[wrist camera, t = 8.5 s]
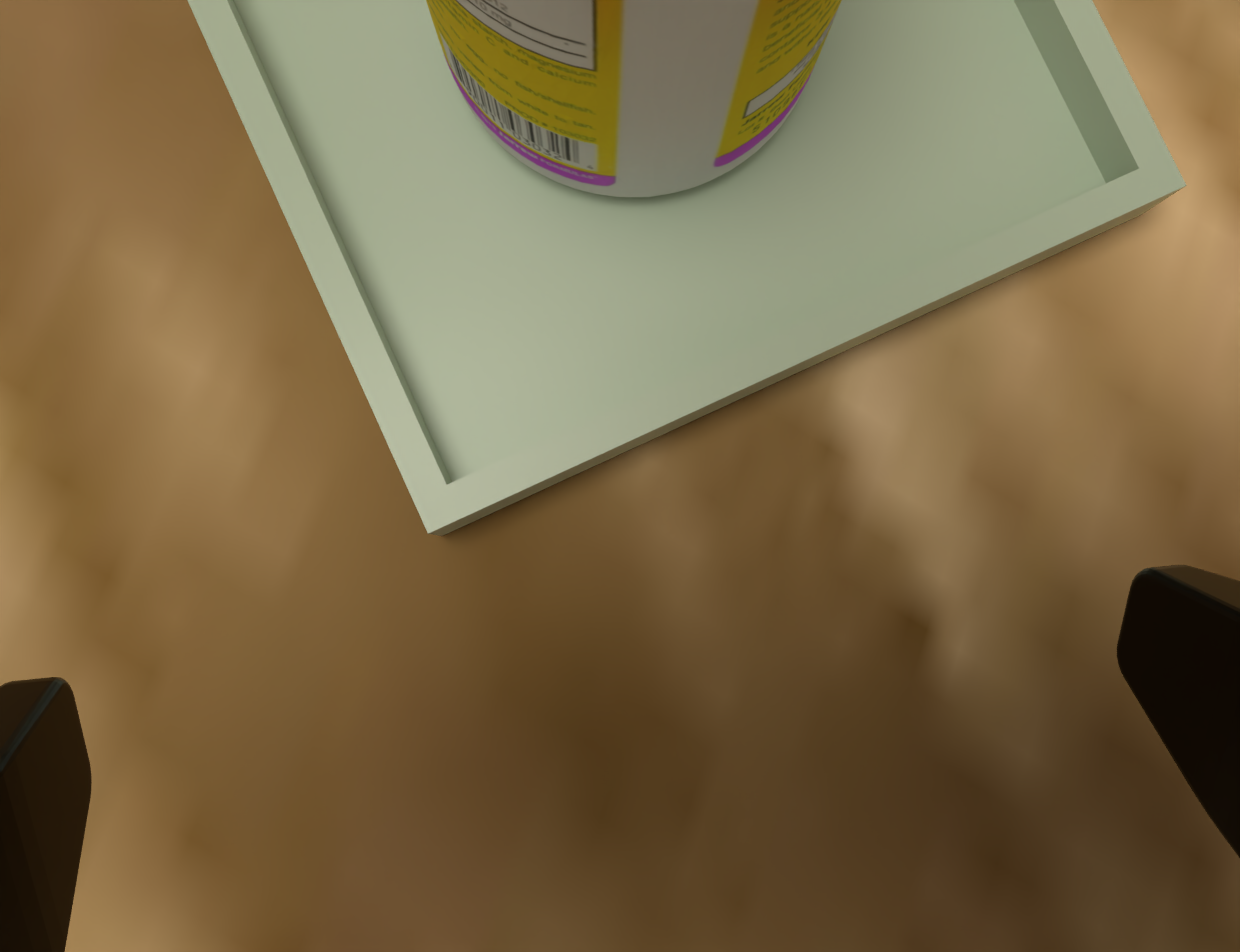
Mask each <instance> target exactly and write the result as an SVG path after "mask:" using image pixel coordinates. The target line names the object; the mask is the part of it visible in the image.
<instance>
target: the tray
mask: <svg viewBox="0 0 1240 952" xmlns="http://www.w3.org/2000/svg"><path fill="white" fill-rule="evenodd" d="M188 2H189V5H190V7H191V9H192V11H193V13H194V16H195V18H196V20H197V22H198V25H199V27H200V29H201V31H202V33H203V36H204V38H205V40H206V42H207V44H208V47H209V49H210V51H211V53H212V56H213V58H214V60H215V62H216V64H217V67H218V69H219V71H220V73H221V76H222V78H223V80H224V82H225V84H226V87H227V89H228V91H229V93H230V95H231V98H232V100H233V102H234V104H235V107H236V109H237V111H238V113H239V115H240V118H241V120H242V122H243V124H244V127H245V129H246V131H247V133H248V135H249V138H250V140H251V142H252V144H253V146H254V149H255V151H256V153H257V155H258V158H259V160H260V162H261V164H262V166H263V169H264V171H265V173H266V175H267V178H268V180H269V182H270V184H271V186H272V189H273V191H274V193H275V195H276V197H277V200H278V202H279V204H280V206H281V209H282V211H283V213H284V215H285V217H286V220H287V222H288V224H289V226H290V229H291V231H292V233H293V235H294V237H295V240H296V242H297V244H298V246H299V248H300V251H301V253H302V255H303V257H304V260H305V262H306V264H307V266H308V268H309V271H310V273H311V275H312V277H313V280H314V282H315V284H316V286H317V288H318V291H319V293H320V295H321V297H322V299H323V302H324V304H325V306H326V308H327V311H328V313H329V315H330V317H331V319H332V322H333V324H334V326H335V328H336V331H337V333H338V335H339V337H340V339H341V342H342V344H343V346H344V348H345V350H346V353H347V355H348V357H349V359H350V362H351V364H352V366H353V368H354V370H355V373H356V375H357V377H358V379H359V382H360V384H361V386H362V388H363V390H364V393H365V395H366V397H367V399H368V401H369V404H370V406H371V408H372V410H373V413H374V415H375V417H376V419H377V421H378V424H379V426H380V428H381V430H382V433H383V435H384V437H385V439H386V441H387V444H388V446H389V448H390V450H391V452H392V455H393V457H394V459H395V461H396V464H397V466H398V468H399V470H400V472H401V475H402V477H403V479H404V481H405V484H406V486H407V488H408V490H409V492H410V495H411V497H412V499H413V501H414V504H415V506H416V508H417V510H418V512H419V515H420V517H421V519H422V521H423V523H424V526H425V528H426V530H427V532H428V534H433V535H438V536H443V535H445V534H448V533H450V532H452V531H454V530H456V529H458V528H461V527H463V526H465V525H467V524H469V523H471V522H474V521H476V520H478V519H480V518H482V517H485V516H487V515H489V514H491V513H493V512H495V511H498V510H500V509H502V508H504V507H506V506H508V505H511V504H513V503H515V502H517V501H519V500H522V499H524V498H526V497H528V496H530V495H532V494H535V493H537V492H539V491H541V490H543V489H545V488H548V487H550V486H552V485H554V484H556V483H559V482H561V481H563V480H565V479H567V478H569V477H572V476H574V475H576V474H578V473H580V472H582V471H585V470H587V469H589V468H591V467H593V466H596V465H598V464H600V463H602V462H604V461H606V460H609V459H611V458H613V457H615V456H617V455H619V454H622V453H624V452H626V451H628V450H630V449H633V448H635V447H637V446H639V445H641V444H643V443H646V442H648V441H650V440H652V439H654V438H656V437H659V436H661V435H663V434H665V433H667V432H670V431H672V430H674V429H676V428H678V427H680V426H683V425H685V424H687V423H689V422H691V421H693V420H696V419H698V418H700V417H702V416H704V415H707V414H709V413H711V412H713V411H715V410H717V409H720V408H722V407H724V406H726V405H728V404H730V403H733V402H735V401H737V400H739V399H741V398H744V397H746V396H748V395H750V394H752V393H754V392H757V391H759V390H761V389H763V388H765V387H767V386H770V385H772V384H774V383H776V382H778V381H781V380H783V379H785V378H787V377H789V376H791V375H794V374H796V373H798V372H800V371H802V370H804V369H807V368H809V367H811V366H813V365H815V364H818V363H820V362H822V361H824V360H826V359H828V358H831V357H833V356H835V355H837V354H839V353H841V352H844V351H846V350H848V349H850V348H852V347H854V346H857V345H859V344H861V343H863V342H865V341H868V340H870V339H872V338H874V337H876V336H878V335H881V334H883V333H885V332H887V331H889V330H891V329H894V328H896V327H898V326H900V325H902V324H905V323H907V322H909V321H911V320H913V319H915V318H918V317H920V316H922V315H924V314H926V313H928V312H931V311H933V310H935V309H937V308H939V307H942V306H944V305H946V304H948V303H950V302H952V301H955V300H957V299H959V298H961V297H963V296H965V295H968V294H970V293H972V292H974V291H976V290H979V289H981V288H983V287H985V286H987V285H989V284H992V283H994V282H996V281H998V280H1000V279H1002V278H1005V277H1007V276H1009V275H1011V274H1013V273H1016V272H1018V271H1020V270H1022V269H1024V268H1026V267H1029V266H1031V265H1033V264H1035V263H1037V262H1039V261H1042V260H1044V259H1046V258H1048V257H1050V256H1053V255H1055V254H1057V253H1059V252H1061V251H1063V250H1066V249H1068V248H1070V247H1072V246H1074V245H1076V244H1079V243H1081V242H1083V241H1085V240H1087V239H1090V238H1092V237H1094V236H1096V235H1098V234H1100V233H1103V232H1105V231H1107V230H1109V229H1111V228H1113V227H1116V226H1118V225H1120V224H1122V223H1124V222H1127V221H1129V220H1131V219H1133V218H1135V217H1137V216H1140V215H1141V214H1143V213H1145V212H1146V211H1148V210H1149V209H1151V208H1152V207H1154V206H1155V205H1157V204H1159V203H1160V202H1162V201H1163V200H1165V199H1166V198H1168V197H1169V196H1171V195H1172V194H1174V193H1176V192H1177V191H1179V190H1180V189H1182V188H1183V187H1185V186H1186V184H1185V182H1184V180H1183V178H1182V176H1181V174H1180V172H1179V170H1178V168H1177V166H1176V164H1175V162H1174V160H1173V158H1172V156H1171V154H1170V152H1169V150H1168V148H1167V146H1166V144H1165V142H1164V141H1163V139H1162V137H1161V135H1160V133H1159V131H1158V129H1157V127H1156V125H1155V123H1154V121H1153V119H1152V117H1151V115H1150V113H1149V111H1148V109H1147V107H1146V105H1145V103H1144V101H1143V99H1142V97H1141V95H1140V93H1139V91H1138V89H1137V88H1136V86H1135V84H1134V82H1133V80H1132V78H1131V76H1130V74H1129V72H1128V70H1127V68H1126V66H1125V64H1124V62H1123V60H1122V58H1121V56H1120V54H1119V52H1118V50H1117V48H1116V46H1115V44H1114V42H1113V40H1112V38H1111V36H1110V34H1109V33H1108V31H1107V29H1106V27H1105V25H1104V23H1103V21H1102V19H1101V17H1100V15H1099V13H1098V11H1097V9H1096V7H1095V5H1094V3H1093V1H1092V0H842V1H841V3H840V6H839V8H838V11H837V13H836V16H835V18H834V21H833V23H832V26H831V28H830V31H829V33H828V35H827V38H826V40H825V42H824V45H823V47H822V50H821V52H820V55H819V57H818V59H817V62H816V64H815V66H814V68H813V71H812V73H811V75H810V78H809V80H808V82H807V83H806V86H805V88H804V90H803V92H802V94H801V97H800V98H799V100H798V102H797V104H796V105H795V107H794V109H793V110H792V112H791V113H790V114H789V116H788V117H787V119H786V120H785V122H784V123H783V124H782V126H781V127H780V128H779V129H778V130H777V132H776V133H775V134H774V135H773V136H772V137H771V138H770V139H769V140H768V141H767V142H766V143H765V144H764V145H763V146H762V147H761V148H760V149H759V150H758V151H757V152H755V153H754V154H753V155H752V156H750V157H749V158H748V159H746V160H745V161H744V162H742V163H741V164H739V165H738V166H736V167H735V168H734V169H732V170H730V171H728V172H726V173H724V174H722V175H721V176H719V177H717V178H715V179H713V180H711V181H708V182H706V183H704V184H702V185H699V186H696V187H693V188H690V189H687V190H683V191H679V192H675V193H670V194H665V195H658V196H652V197H615V196H607V195H600V194H594V193H590V192H586V191H582V190H578V189H574V188H571V187H569V186H566V185H563V184H561V183H558V182H556V181H554V180H552V179H550V178H548V177H546V176H544V175H542V174H540V173H538V172H536V171H535V170H533V169H531V168H530V167H528V166H527V165H525V164H523V163H522V162H520V161H519V160H518V159H516V158H515V157H514V156H512V155H511V154H510V153H509V152H507V151H506V150H505V149H504V148H503V147H502V146H501V145H500V144H499V143H498V142H497V141H496V140H494V139H493V137H492V136H491V135H490V134H489V133H488V132H487V131H486V129H485V128H484V127H483V126H482V124H481V123H480V122H479V121H478V119H477V118H476V117H475V115H474V114H473V112H472V111H471V109H470V107H469V106H468V104H467V103H466V101H465V99H464V98H463V96H462V94H461V92H460V90H459V88H458V86H457V84H456V82H455V80H454V78H453V75H452V73H451V71H450V69H449V66H448V64H447V62H446V59H445V56H444V53H443V50H442V47H441V44H440V42H439V39H438V36H437V33H436V30H435V27H434V24H433V21H432V17H431V14H430V11H429V8H428V5H427V2H426V0H188Z"/></svg>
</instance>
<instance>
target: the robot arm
mask: <svg viewBox="0 0 1240 952" xmlns="http://www.w3.org/2000/svg"><path fill="white" fill-rule="evenodd" d="M1117 659H1118V664H1119V667H1120V670H1121V673H1122V675H1123V677H1124V678H1125V680H1126V682H1127V683H1128V685H1129V687H1130V688H1131V690H1132V692H1133V693H1134V695H1135V696H1136V698H1137V700H1138V701H1139V703H1140V705H1141V706H1142V708H1143V710H1144V711H1145V713H1146V715H1147V716H1148V718H1149V720H1150V721H1151V723H1152V725H1153V726H1154V728H1155V730H1156V731H1157V733H1158V734H1159V736H1160V738H1161V739H1162V741H1163V743H1164V744H1165V746H1166V748H1167V749H1168V751H1169V753H1170V754H1171V756H1172V758H1173V759H1174V761H1175V763H1176V764H1177V766H1178V768H1179V769H1180V771H1181V772H1182V774H1183V776H1184V777H1185V779H1186V781H1187V782H1188V784H1189V786H1190V787H1191V789H1192V791H1193V792H1194V794H1195V795H1196V797H1197V798H1198V800H1199V801H1200V803H1201V805H1202V806H1203V808H1204V809H1205V811H1206V812H1207V814H1208V815H1209V817H1210V818H1211V819H1212V821H1213V822H1214V824H1215V825H1216V826H1217V828H1218V829H1219V831H1220V832H1221V834H1222V835H1223V836H1224V838H1225V839H1226V840H1227V842H1228V843H1229V844H1230V846H1231V847H1232V848H1233V850H1234V851H1235V852H1236V854H1237V855H1238V856H1239V858H1240V581H1237V580H1234V579H1231V578H1228V577H1224V576H1221V575H1218V574H1215V573H1211V572H1208V571H1205V570H1201V569H1198V568H1195V567H1192V566H1187V565H1171V566H1162V567H1152V568H1146V569H1143V570H1142V571H1140V572H1139V573H1138V574H1137V575H1136V576H1135V578H1134V579H1133V581H1132V584H1131V587H1130V591H1129V595H1128V600H1127V604H1126V608H1125V613H1124V617H1123V622H1122V626H1121V630H1120V635H1119V639H1118V644H1117ZM90 797H91V768H90V762H89V758H88V753H87V749H86V745H85V741H84V736H83V732H82V728H81V724H80V719H79V715H78V711H77V707H76V702H75V698H74V695H73V691H72V689H71V687H70V685H69V684H68V683H67V682H66V681H65V680H64V679H62V678H59V677H50V678H40V679H30V680H20V681H12V682H8V683H5V684H3V685H2V686H0V952H65V946H66V940H67V934H68V928H69V923H70V917H71V911H72V905H73V899H74V893H75V887H76V881H77V875H78V869H79V863H80V857H81V851H82V845H83V839H84V833H85V827H86V821H87V815H88V809H89V803H90Z"/></svg>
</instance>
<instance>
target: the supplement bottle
mask: <svg viewBox="0 0 1240 952" xmlns="http://www.w3.org/2000/svg"><path fill="white" fill-rule="evenodd" d="M841 1H842V0H426V2H427V5H428V8H429V11H430V14H431V17H432V21H433V24H434V27H435V30H436V33H437V36H438V39H439V42H440V44H441V47H442V50H443V53H444V56H445V59H446V62H447V64H448V66H449V69H450V71H451V73H452V75H453V78H454V80H455V82H456V84H457V86H458V88H459V90H460V92H461V94H462V96H463V98H464V99H465V101H466V103H467V104H468V106H469V107H470V109H471V111H472V112H473V114H474V115H475V117H476V118H477V119H478V121H479V122H480V123H481V124H482V126H483V127H484V128H485V129H486V131H487V132H488V133H489V134H490V135H491V136H492V137H493V139H494V140H496V141H497V142H498V143H499V144H500V145H501V146H502V147H503V148H504V149H505V150H506V151H507V152H509V153H510V154H511V155H512V156H514V157H515V158H516V159H518V160H519V161H520V162H522V163H523V164H525V165H527V166H528V167H530V168H531V169H533V170H535V171H536V172H538V173H540V174H542V175H544V176H546V177H548V178H550V179H552V180H554V181H556V182H558V183H561V184H563V185H566V186H569V187H571V188H574V189H578V190H582V191H586V192H590V193H594V194H600V195H607V196H615V197H652V196H658V195H665V194H670V193H675V192H679V191H683V190H687V189H690V188H693V187H696V186H699V185H702V184H704V183H706V182H708V181H711V180H713V179H715V178H717V177H719V176H721V175H722V174H724V173H726V172H728V171H730V170H732V169H734V168H735V167H736V166H738V165H739V164H741V163H742V162H744V161H745V160H746V159H748V158H749V157H750V156H752V155H753V154H754V153H755V152H757V151H758V150H759V149H760V148H761V147H762V146H763V145H764V144H765V143H766V142H767V141H768V140H769V139H770V138H771V137H772V136H773V135H774V134H775V133H776V132H777V130H778V129H779V128H780V127H781V126H782V124H783V123H784V122H785V120H786V119H787V117H788V116H789V114H790V113H791V112H792V110H793V109H794V107H795V105H796V104H797V102H798V100H799V98H800V97H801V94H802V92H803V90H804V88H805V86H806V83H807V82H808V80H809V78H810V75H811V73H812V71H813V68H814V66H815V64H816V62H817V59H818V57H819V55H820V52H821V50H822V47H823V45H824V42H825V40H826V38H827V35H828V33H829V31H830V28H831V26H832V23H833V21H834V18H835V16H836V13H837V11H838V8H839V6H840V3H841Z"/></svg>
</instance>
